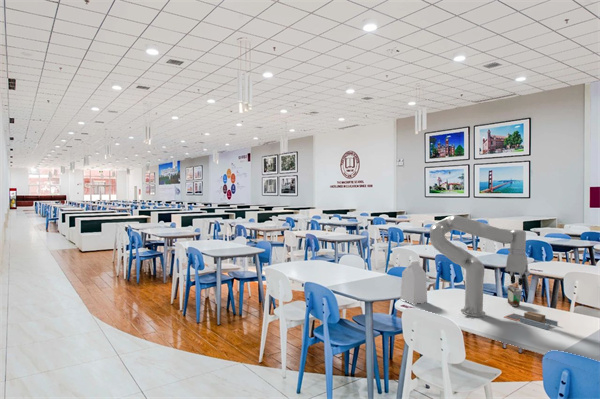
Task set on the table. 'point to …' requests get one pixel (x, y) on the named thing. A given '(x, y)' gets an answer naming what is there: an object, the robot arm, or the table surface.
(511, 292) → the food container
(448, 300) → the table surface
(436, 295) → the table surface
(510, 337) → the table surface
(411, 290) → the milk
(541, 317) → the walnut block
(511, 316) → the pad
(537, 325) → the channel
